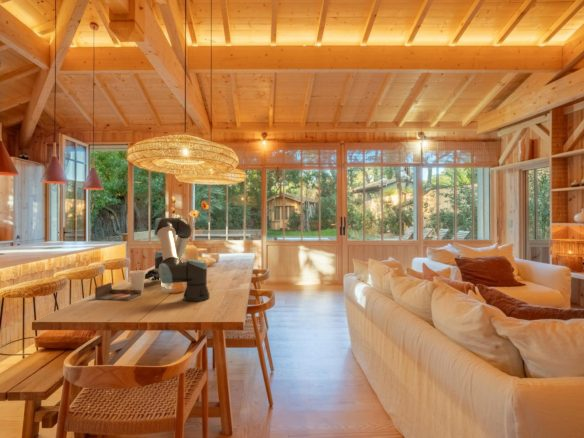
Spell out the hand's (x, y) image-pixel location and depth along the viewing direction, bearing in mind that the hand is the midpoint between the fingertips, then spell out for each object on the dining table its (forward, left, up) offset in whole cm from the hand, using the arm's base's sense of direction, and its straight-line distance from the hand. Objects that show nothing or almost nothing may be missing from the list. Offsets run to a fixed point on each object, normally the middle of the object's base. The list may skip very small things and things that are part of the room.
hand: (138, 280), depth 217 cm
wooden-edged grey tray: (+3, +18, -7) cm, 20 cm away
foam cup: (0, +2, -7) cm, 7 cm away
